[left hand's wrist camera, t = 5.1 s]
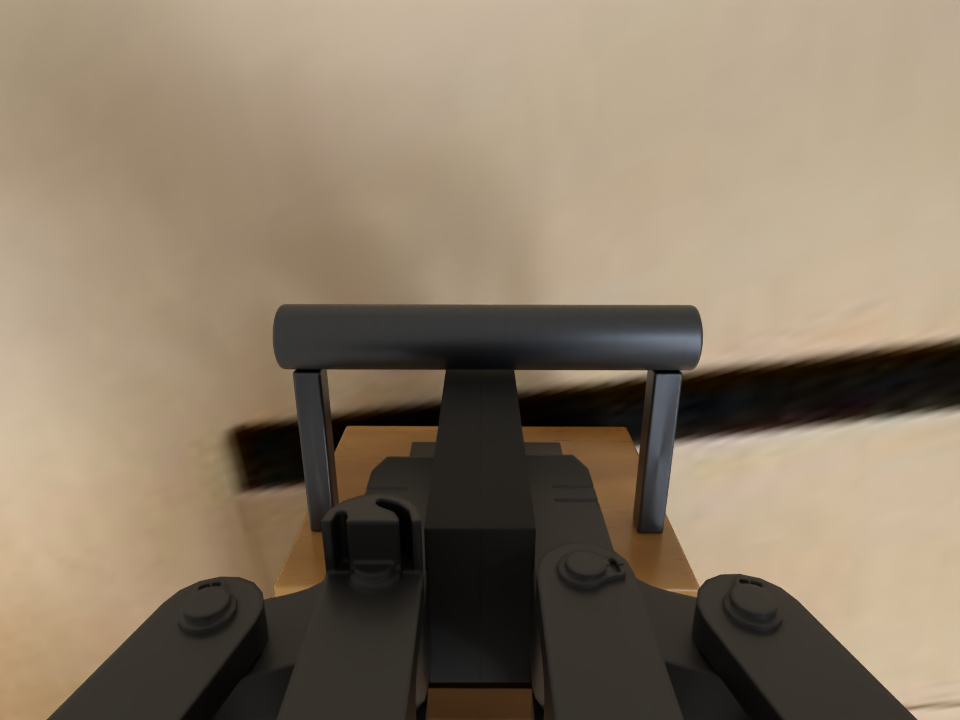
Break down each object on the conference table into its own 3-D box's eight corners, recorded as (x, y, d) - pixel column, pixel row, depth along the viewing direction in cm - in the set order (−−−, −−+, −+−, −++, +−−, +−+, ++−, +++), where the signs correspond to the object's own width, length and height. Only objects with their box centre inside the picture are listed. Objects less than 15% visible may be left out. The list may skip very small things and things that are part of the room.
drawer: (331, 254, 18) (236, 338, 11) (642, 255, 18) (741, 339, 11) (382, 853, 27) (346, 1102, 20) (586, 854, 27) (621, 1105, 20)
